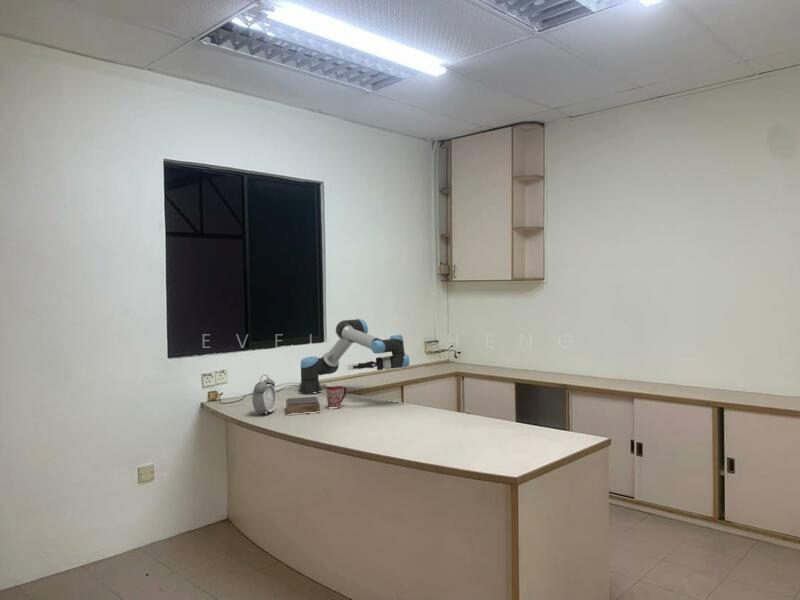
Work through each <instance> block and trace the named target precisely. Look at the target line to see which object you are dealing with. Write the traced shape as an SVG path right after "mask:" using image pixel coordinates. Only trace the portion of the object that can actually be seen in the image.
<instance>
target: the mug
mask: <svg viewBox="0 0 800 600" xmlns="http://www.w3.org/2000/svg"><path fill="white" fill-rule="evenodd" d="M325 387H326V388H325V389H326V397H327V398H326V401H327V408H328V407H339V406H341V404H342V402H343V400H344V399H345V397H346V395H347V388H346V387H345V386H342V383H329V384H328V383H327V384H326V385H325ZM342 390H343V391H344V392H343V394H342Z"/></svg>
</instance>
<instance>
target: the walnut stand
mask: <svg viewBox="0 0 800 600" xmlns="http://www.w3.org/2000/svg"><path fill="white" fill-rule="evenodd" d="M320 406H321V403H320V401H319V399H318V397H316V396H307V397H306V396H305V397H292V398H286V400H285V408H286V409H287V411H286V415H287V414H291V413H305V412H317V411H320V412H321V407H320ZM286 409H285V410H286Z"/></svg>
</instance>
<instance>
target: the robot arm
mask: <svg viewBox="0 0 800 600" xmlns="http://www.w3.org/2000/svg"><path fill="white" fill-rule="evenodd" d="M368 328H369V327H368V324H367V322H366V321H365V320H364V319H362V318H360V319H359V318H356V319H346V320H341V321H339V322H338V323H337V324H336V327H335V334H336V336H337V337H338V338H339V339H337V341H336V342H335V343H334V344H333V346H332V347H331V348H330V350H329V351H328V352H325V353H324V354H323V355H322V357H318V356H314V355H313V356H306V357H304V358H302V359H301V361H300V384H299V388H298V393H299V392H301V393H313V392H319V391H321V392H322V387H321V383H320V380H319V378H320V377H319V376H323V375H331V374H334V373H337V371H338V370H339V365H340V359H341V357H343V355H344V354H345V353H346V352H347V351H348V350H349V348H350V347H351V346H352V345H353V344H354V343H355V344H358V345H360V346H363V347H365V348H368V349H370V350H371V351H372V353H374V354H385V353H391V354H392V355H386V356H379V357H376V358H375V361H373V360H371V361H366V362H362V363H361V362H358V363H351V364H347V365H346V368H347V371H354V370H362V369H375V368H376V370H377V371H382V370H387V371H388V370H391V369H400V368H401V369H402V368H406V367H407V368H408V367H409V366H410V357H409V356H410V355H409V354H408V353H406V352H405V346H404V338H403V335H402V334H396V335H395V334H394V335H390V336H389V338H388V339H381V338H378V337H376V336H373V335H371V334H368V333H369V331H368V330H369V329H368Z"/></svg>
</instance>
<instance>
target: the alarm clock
mask: <svg viewBox="0 0 800 600" xmlns="http://www.w3.org/2000/svg"><path fill="white" fill-rule="evenodd" d="M265 376H266V379H263V381H262V378H263V377H265ZM275 386H276V383H275V381H274V380H273V379H271V378H270V377H269V376H268V375H267V374H263V375H261V377H260V379H259V382H257V383H256V384H255V385H254V388H253V391H252V396H251V397H252V398H251V399H252V406H253V409H254V411H255V412H256V413H260V414H261V412H262V413H264V414H266V415H267V413H271V412H272V411H273V412H274V410H275V408H276V405H277V392H276V391H277V390H276V388H275ZM273 412H272V413H273Z"/></svg>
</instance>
